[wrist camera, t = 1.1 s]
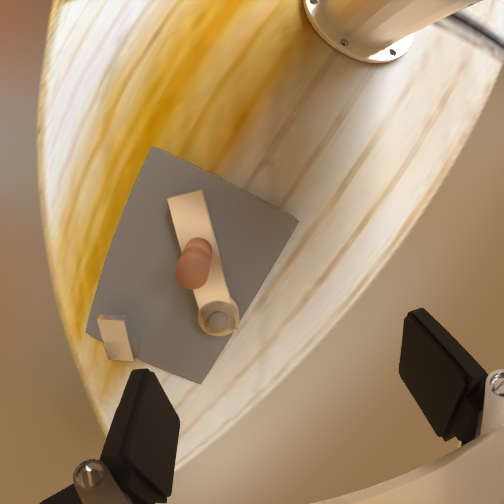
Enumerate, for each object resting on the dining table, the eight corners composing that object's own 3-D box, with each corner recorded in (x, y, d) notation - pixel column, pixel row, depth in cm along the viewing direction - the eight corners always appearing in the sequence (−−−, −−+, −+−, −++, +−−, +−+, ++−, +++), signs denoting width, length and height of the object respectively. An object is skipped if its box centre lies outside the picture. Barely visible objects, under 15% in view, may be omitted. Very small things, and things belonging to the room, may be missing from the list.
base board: (155, 147, 26) (151, 146, 24) (295, 217, 29) (299, 221, 27) (90, 325, 31) (85, 332, 30) (201, 376, 34) (200, 384, 33)
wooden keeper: (133, 305, 29) (123, 320, 26) (141, 344, 30) (133, 361, 27) (107, 304, 29) (96, 319, 26) (116, 342, 30) (108, 359, 27)
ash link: (242, 323, 30) (246, 365, 24) (205, 330, 30) (200, 373, 24) (208, 187, 26) (201, 198, 19) (165, 197, 26) (144, 212, 19)
